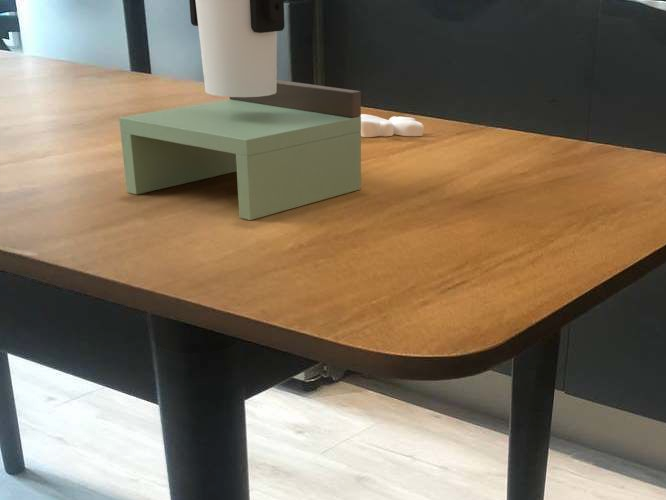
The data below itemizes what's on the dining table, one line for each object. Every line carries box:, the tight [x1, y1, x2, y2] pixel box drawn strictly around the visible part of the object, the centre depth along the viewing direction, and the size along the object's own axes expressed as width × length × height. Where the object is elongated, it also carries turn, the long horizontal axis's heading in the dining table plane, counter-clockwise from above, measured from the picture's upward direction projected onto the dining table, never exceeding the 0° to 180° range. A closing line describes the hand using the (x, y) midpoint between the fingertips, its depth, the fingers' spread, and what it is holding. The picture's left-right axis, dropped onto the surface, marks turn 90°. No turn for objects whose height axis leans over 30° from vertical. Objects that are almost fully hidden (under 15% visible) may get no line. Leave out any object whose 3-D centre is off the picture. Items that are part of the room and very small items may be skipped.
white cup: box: [195, 0, 278, 98], centre depth 86 cm, size 7×7×10 cm
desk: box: [118, 79, 362, 221], centre depth 90 cm, size 14×14×8 cm
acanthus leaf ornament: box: [360, 113, 425, 138], centre depth 117 cm, size 8×7×2 cm
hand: (237, 25), depth 86 cm, fingers closed on white cup, 5 cm apart
